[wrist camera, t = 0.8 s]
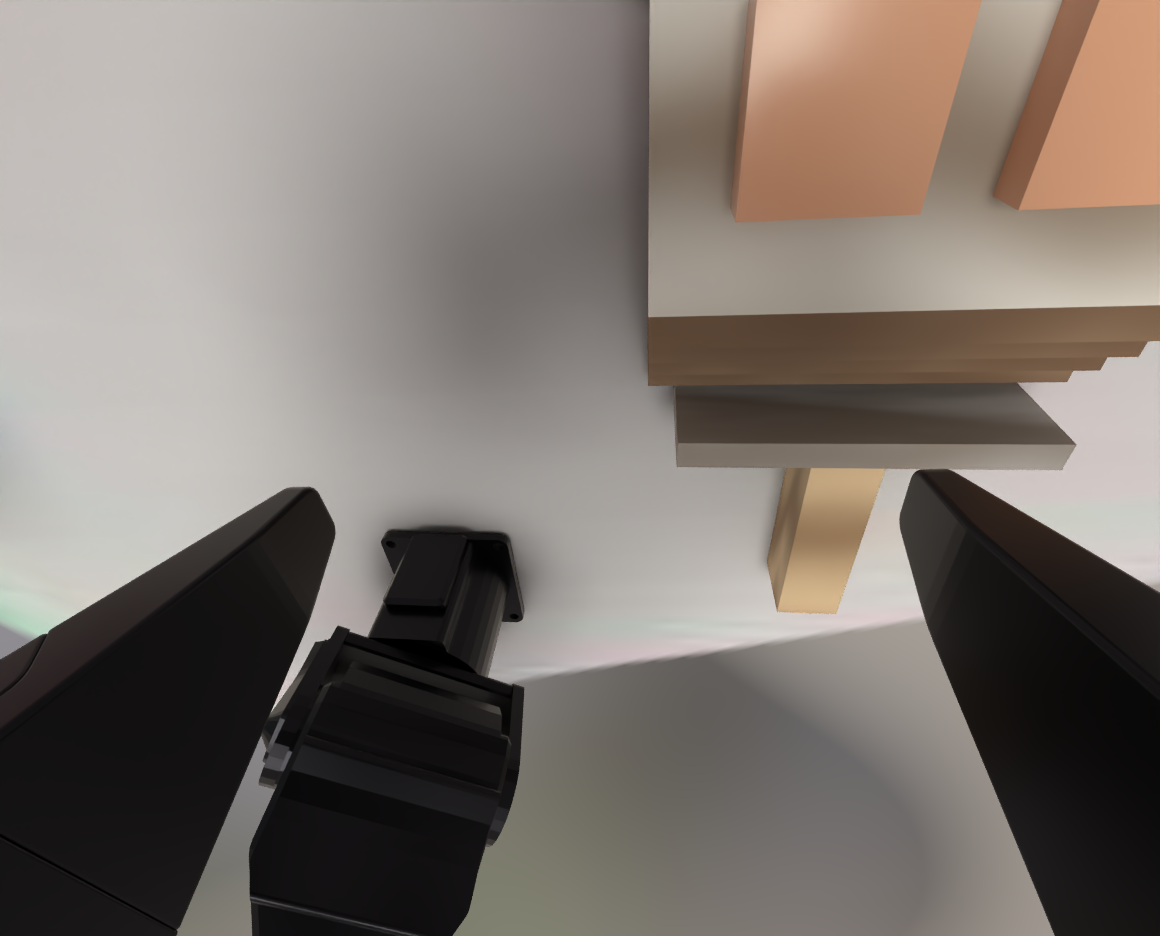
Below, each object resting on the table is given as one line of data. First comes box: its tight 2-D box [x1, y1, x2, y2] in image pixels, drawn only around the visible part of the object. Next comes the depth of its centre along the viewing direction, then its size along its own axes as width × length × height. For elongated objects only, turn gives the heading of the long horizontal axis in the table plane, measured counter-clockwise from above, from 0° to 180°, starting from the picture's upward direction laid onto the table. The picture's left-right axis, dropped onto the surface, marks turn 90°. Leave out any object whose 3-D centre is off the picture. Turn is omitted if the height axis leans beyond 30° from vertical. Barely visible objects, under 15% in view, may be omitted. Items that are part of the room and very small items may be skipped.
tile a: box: [993, 0, 1160, 210], centre depth 11 cm, size 4×4×1 cm
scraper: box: [674, 382, 1076, 614], centre depth 23 cm, size 10×12×4 cm
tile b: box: [730, 0, 982, 222], centre depth 12 cm, size 4×4×1 cm
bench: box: [648, 0, 1160, 386], centre depth 16 cm, size 11×14×4 cm
